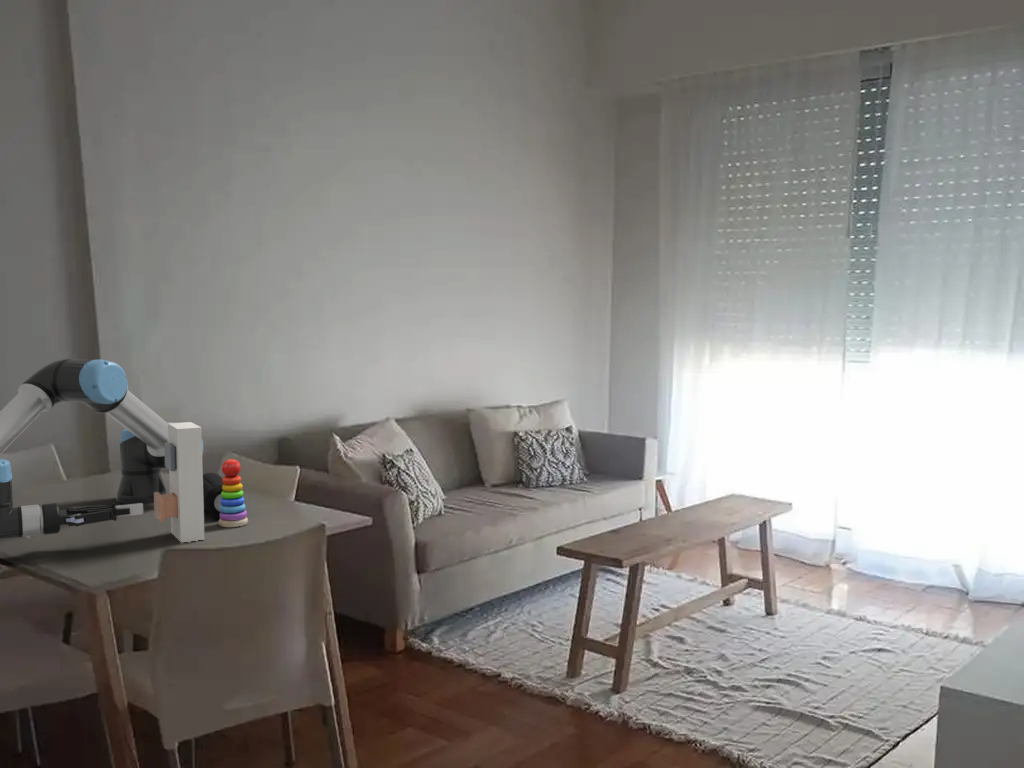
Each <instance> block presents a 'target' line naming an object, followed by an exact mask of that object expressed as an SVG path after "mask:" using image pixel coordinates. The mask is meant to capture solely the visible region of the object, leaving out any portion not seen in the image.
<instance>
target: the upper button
mask: <svg viewBox="0 0 1024 768" xmlns="http://www.w3.org/2000/svg"><path fill="white" fill-rule="evenodd" d="M164 448H165V467H166V468H165V469H167V470H168V471H169V470H170V471H175V468H177V464H176V447H175V446H174V445H171V444H170V443H164Z"/></svg>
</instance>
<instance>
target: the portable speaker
mask: <svg viewBox="0 0 1024 768" xmlns="http://www.w3.org/2000/svg"><path fill="white" fill-rule="evenodd" d="M222 479H223V477H222V476H220V475H219V474H217V473H213V472H207V473H203V501H204V510H205V511H207V513H208V514H209V515H210V516H212V517H213V518H216V519H220V513H221V511H220V506H221V505H222V504H221V502H220V500H221V498H222V496H221V492H222V491H224V490H223V489H222V486H223V484H224V483H223V481H222Z"/></svg>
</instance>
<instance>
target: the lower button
mask: <svg viewBox="0 0 1024 768" xmlns="http://www.w3.org/2000/svg"><path fill="white" fill-rule="evenodd" d="M153 509H154V510H153V511H154V517H155V518H156V519H157V520H158V521H159V523H162V522H163V523H164V522H165V519H168V518H171V517H178V498H177V495H175V494H174V493H173V494H170V493H168V494H163V495H161V494H160V493H159V492H154V502H153Z"/></svg>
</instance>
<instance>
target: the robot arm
mask: <svg viewBox="0 0 1024 768" xmlns="http://www.w3.org/2000/svg"><path fill="white" fill-rule="evenodd" d="M126 376H127V374H126V372H125V370H124V369H123V368H122V367H121V366H120V365H119V364H118V363H116V362H114V361H111V360H106V359H100V358H99V359H74V358H62V359H57V360H55V361H53V362H50V363H48V364H46V365H45V366H42V367H41V368H39V369H38V370H37V371H35V372H33V374H32V375H30V376H29V377H28V378H26V380H25V381H23V382H22V383H21V385H20V386H19V387H18V389H17V394H16V395H15V396H14V397H13V398H11V400H9V402H8V403H7V404H6V405H5V406H4V407H3V408H2V409H1V410H0V456H2V454H3V453H4V452H5V451H6V450H7V449H8V448H9V447H10V446H11V445H12V444H13V443H14V441H16V440H17V439H18V437H20V436H21V435H22V433H24V431H25V430H26V429H27V428H28V427H29V426H30V425H32V423H33V422H34V421H35V420H36V419H37V418H38V417H39V416H40V415H41V414H42V412H49V411H50V410H51V409H52V408H54V406H55V405H57V404H59V403H63V402H64V403H65V402H68V403H69V402H72V403H82V404H84V405H85V406H87V407H88V408H90V409H91V410H92V411H94V412H95V413H97V414H107V415H108V416H109V417H110V418H112V419H113V420H114V421H115V422H117V423H119V424H120V425H121V426H122V427H124V429H123V430H121V432H120V437H119V438H120V439H119V450H120V451H119V452H120V469H121V470H120V471H121V473H120V474H121V475H120V480H119V483H118V485H117V486H118V487H117V489H116V492H115V493H116V494H115V501H116V502H117V503H119V505H115V503H114V502H111V504H101V505H99V504H98V505H82V506H81V505H80V506H78V505H77V506H73V505H71V506H69V507H66V509H62V510H60V507H59V504H58V503H57V502H51V503H43V504H41V506H40V505H39V504H30V505H21V506H13V505H14V503H13V502H14V500H13V498H14V497H13V474H12V466H11V462H10V461H9V460H8V459H5V458H0V541H1V540H10V539H16V538H17V539H18V538H26V539H29V540H30V539H31V538H32V537H35V536H40V535H41V533H42V534H43V535H44V536H45V535H46V536H47V535H53V534H55V535H56V534H59V533H60V531H61V525H64V526H65V525H67V526H68V527H73V526H74V527H80V526H84V525H90V524H96V523H100V522H108V521H114V522H116V521H117V520H118V519H117V518H123V517H124V518H125V517H130V516H139V515H140V516H141V515H144V503H145V504H152V503H153V504H154V492H159V493H160V494H161V495H163V494H169V493H168V488H167V485H166V483H165V480H164V478H163V475H162V469H167V468H166V467H165V448H164V443H168V423H174V422H170V421H166V420H164V419H163V418H162V417H161V416H160V415H158V413H156V412H154V411H155V410H153V409H151V407H149V406H148V405H147V404H146V403H144V402H143V401H142V400H140V399H139V398H138V397H137V396H136V395H134V394H133V393H132V392H131V391H130V390H129V386H128V384H129V383H128V378H126ZM203 453H204V440H203V439H202V455H203ZM120 504H121V505H120Z"/></svg>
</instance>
